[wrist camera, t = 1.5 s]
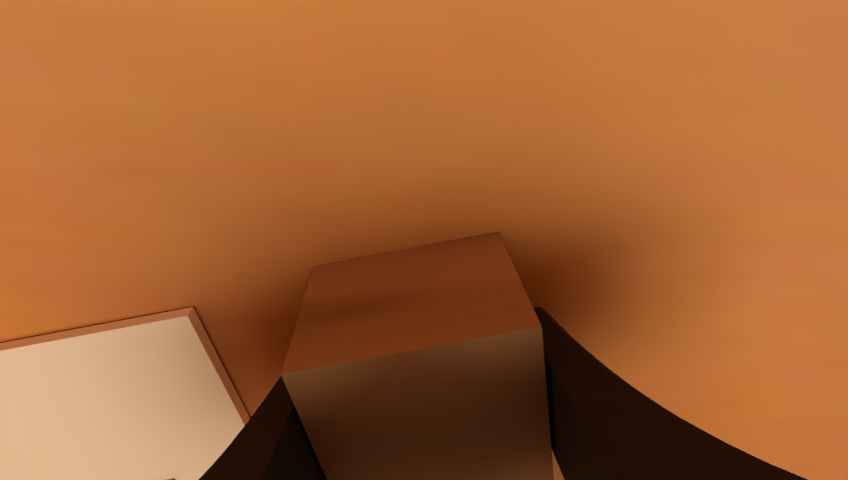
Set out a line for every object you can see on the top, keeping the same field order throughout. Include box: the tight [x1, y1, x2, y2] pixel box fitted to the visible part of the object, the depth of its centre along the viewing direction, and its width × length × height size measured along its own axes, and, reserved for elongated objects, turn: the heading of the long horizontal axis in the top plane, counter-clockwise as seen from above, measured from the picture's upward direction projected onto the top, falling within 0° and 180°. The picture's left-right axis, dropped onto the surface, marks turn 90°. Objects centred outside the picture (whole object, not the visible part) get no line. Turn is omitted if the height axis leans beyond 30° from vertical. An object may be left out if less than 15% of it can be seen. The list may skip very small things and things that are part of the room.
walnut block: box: [281, 232, 554, 480], centre depth 12 cm, size 5×5×4 cm
